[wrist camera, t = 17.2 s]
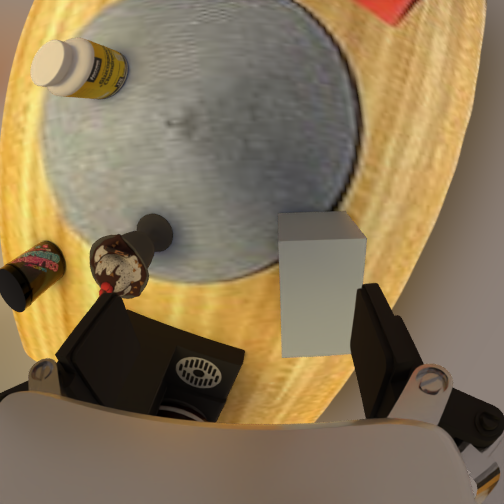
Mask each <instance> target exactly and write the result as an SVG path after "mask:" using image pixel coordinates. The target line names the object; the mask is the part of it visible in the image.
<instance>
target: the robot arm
mask: <svg viewBox="0 0 504 504" xmlns="http://www.w3.org/2000/svg"><path fill="white" fill-rule="evenodd" d="M350 350H351V355H352V359H353V363H354V367H355V371H356V375H357V380H358V384H359V388H360V393H361V397H362V402H363V407H364V412H365V416H366V419H360V420H348V421H336V422H323V423H304V424H229V423H212V422H200V421H190V420H180V419H172V418H165V417H158V416H151V415H145V414H139V413H134V412H128V411H123V410H118V409H113V406H114V404H115V402H116V400H117V398H118V395H119V393H120V391H121V389H122V387H123V385H124V383H125V381H126V379H127V377H128V375H129V373H130V371H131V369H132V366H133V364H134V362H135V360H136V358H137V356H138V354H139V352H140V343H139V341H138V338H137V336H136V333H135V331H134V329H133V326H132V324H131V321H130V319H129V316H128V313H127V311H126V308H125V305H124V303H123V300H122V298H121V297H120V296H119V295H118V294H117V293H103V294H102V295H101V296H100V297H99V299H98V300H97V301H96V302H95V304H94V305H93V306H92V307H91V309H90V310H89V311H88V312H87V314H86V315H85V316H84V317H83V319H82V320H81V321H80V322H79V324H78V325H77V326H76V328H75V329H74V330H73V331H72V333H71V334H70V335H69V337H68V338H67V339H66V341H65V342H64V343H63V345H62V346H61V347H60V349H59V350H58V352H57V353H56V354H55V355H56V357H57V359H58V362H57V363H56V362H55V361H54V360H53V359H50V358H46V359H42V360H40V361H38V362H37V363H35V364H34V365H33V366H32V368H31V369H30V371H29V375H28V379H29V380H28V381H26V382H24V383H22V384H19V385H17V386H15V387H13V388H11V389H8V390H6V391H4V392H2V393H0V504H504V415H503V413H502V412H501V411H500V410H499V409H498V408H497V407H495V406H493V405H491V404H489V403H486V402H484V401H482V400H479V399H477V398H475V397H472V396H470V395H468V394H466V393H464V392H461V391H459V390H457V389H455V388H453V380H452V376H451V374H450V373H449V372H448V371H447V370H446V369H445V368H444V367H442V366H440V365H436V364H423V362H422V359H421V357H420V355H419V353H418V351H417V348H416V347H415V344H414V342H413V340H412V338H411V336H410V334H409V332H408V330H407V328H406V326H405V324H404V322H403V320H402V318H401V317H400V316H398V315H397V316H394V314H393V312H392V310H391V308H390V306H389V304H388V302H387V300H386V298H385V296H384V294H383V292H382V290H381V289H380V287H379V285H378V283H371V284H363V285H362V287H361V288H358V289H357V293H356V302H355V310H354V318H353V325H352V332H351V339H350ZM467 469H468V470H469V471H470V472H471V473H470V474H469V475H470V476H471V477H472V478H473V479H474V481H475V482H476V484H477V489H478V490H477V495H476V497H475V498H474V493H473V490H472V486H471V482H470V478H469V475H468V471H467Z"/></svg>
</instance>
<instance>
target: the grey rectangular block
mask: <svg viewBox="0 0 504 504" xmlns="http://www.w3.org/2000/svg"><path fill="white" fill-rule="evenodd" d="M366 242H367V238H366V237H365V235H364V234H363V233H362V232H361V230H360V229H359V228H358V227H357V225H356V224H355V223H354V222H353V220H352V219H351V218H350V217H349V215H348V214H347V213H346V212H345V211H334V212H299V213H278V247H279V272H280V301H281V340H282V358H290V357H313V356H330V355H343V354H351V350H350V339H351V332H352V325H353V318H354V310H355V302H356V293H357V289H358V288H361V287H362V285H363V276H364V266H365V255H366Z"/></svg>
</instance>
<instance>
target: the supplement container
mask: <svg viewBox="0 0 504 504" xmlns="http://www.w3.org/2000/svg"><path fill="white" fill-rule="evenodd" d="M63 273H64V260H63V257H62V254H61V253H60V251H59V250H58V248H57V247H56V246H55V245H53V244H52V243H50V242H46V241H43V242H40V243H38V244H37V245H35V246H34V247H32V248H31V249H29V250H27V251H26V252H24V253H23V254H21V255H20V256H18V257H17V258H15V259H14V260H12V261H11V262H9V263H8V264H6V265H5V266H3V267H2V268H0V293H1V295H2V297H3V299H4V300H5V302H6V303H7V304H8V305H9V306H10V307H11V308H12V309H13V310H15V311H17V312H23V311H24V310H25V309H26V308H27V307H29V306H30V305H31V304H32V303H33V302H34V301H35V300H36V299H37V298H38V297H39V296H40V295H41V294H43V293H44V292H45V291H46V290H47V289H48V288H50V287H51V286H52V285H53V284H54V283H55V282H57V281H58V280H59V279H60V278H61V277H62V275H63Z"/></svg>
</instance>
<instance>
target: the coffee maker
mask: <svg viewBox="0 0 504 504" xmlns="http://www.w3.org/2000/svg"><path fill="white" fill-rule="evenodd" d="M126 311H127V313H128V316H129V319H130V321H131V324H132V326H133V329H134V331H135V333H136V336H137V338H138V341H139V343H140V352H139V354H138V356H137V358H136V360H135V362H134V364H133V366H132V369H131V371H130V373H129V375H128V377H127V379H126V381H125V383H124V385H123V387H122V389H121V391H120V393H119V395H118V398H117V400H116V402H115V404H114V406H113V409H118V410H123V411H128V412H134V413H139V414H145V415H151V416H158V417H165V418H172V419H180V420H190V421H200V422H212V423H216V421H217V419H218V417H219V415H220V413H221V411H222V409H223V407H224V405H225V403H226V400H227V396H228V394H229V392H230V390H231V388H232V385H233V383H234V381H235V379H236V377H237V375H238V373H239V370H240V368H241V366H242V364H243V360H244V353H245V351H244V350H241V349H238V348H235V347H231V346H228V345H225V344H222V343H218V342H215V341H212V340H209V339H206V338H203V337H200V336H197V335H194V334H191V333H188V332H185V331H182V330H180V329H177V328H174V327H171V326H169V325H166V324H163V323H160V322H158V321H155V320H152V319H150V318H147V317H145V316H142V315H140V314H137V313H135V312H132V311H130V310H126Z"/></svg>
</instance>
